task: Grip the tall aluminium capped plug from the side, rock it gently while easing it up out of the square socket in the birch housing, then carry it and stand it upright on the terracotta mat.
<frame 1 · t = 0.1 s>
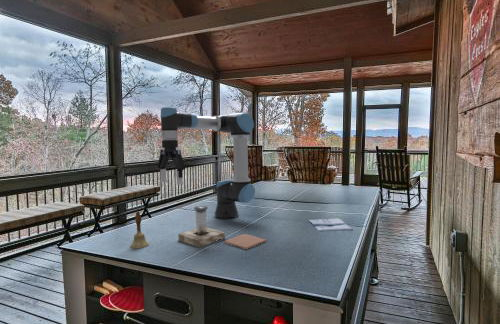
hand: (171, 183, 147), 28 cm above the table, tool pointing down, fingers open, 13 cm apart
birch housing: (201, 239, 148), on the table
terracotta mat: (245, 242, 142), on the table
white folded cloth: (329, 226, 168), on the table
aluminium plug: (201, 223, 148), in the birch housing
hand bell: (139, 245, 141), on the table
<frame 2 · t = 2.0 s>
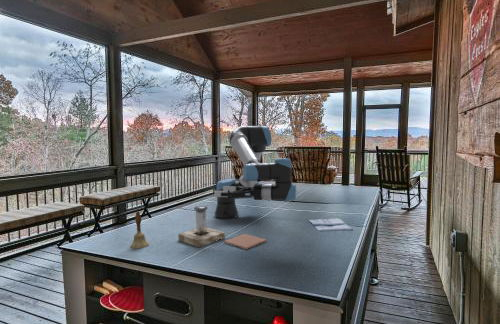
hand: (219, 191, 145), 24 cm above the table, tool horizontal, fingers open, 13 cm apart
nothing on the table moved.
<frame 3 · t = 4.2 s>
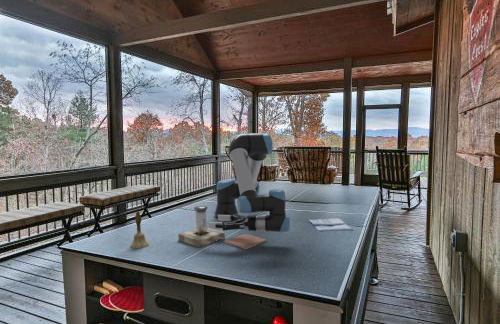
hand: (213, 221, 146), 9 cm above the table, tool horizontal, fingers open, 13 cm apart
nothing on the table moved.
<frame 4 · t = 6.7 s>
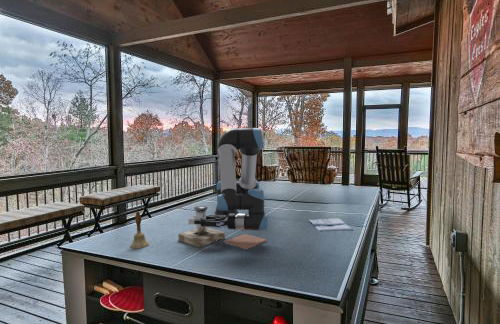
hand: (191, 219, 149), 10 cm above the table, tool horizontal, fingers closed on aluminium plug, 5 cm apart
aluminium plug: (201, 223, 148), in the birch housing, touching gripper
everything else where it was.
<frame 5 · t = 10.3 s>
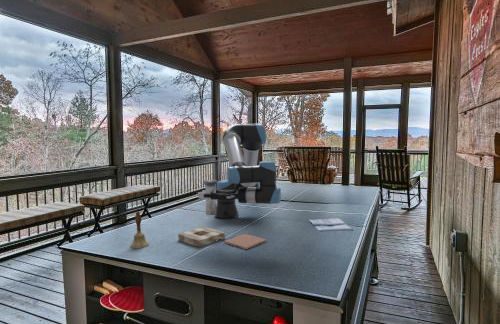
hand: (200, 194, 145), 23 cm above the table, tool horizontal, fingers closed on aluminium plug, 5 cm apart
aluminium plug: (210, 197, 144), point 21 cm above the table, touching gripper
everything else where it was.
when the fingers open (12 cm above the table, at t = 14.1 s): aluminium plug drops 1 cm, resting on terracotta mat.
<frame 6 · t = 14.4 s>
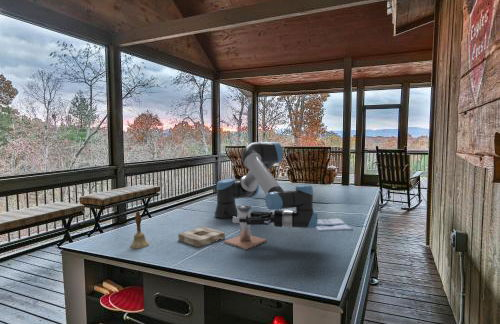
hand: (235, 217, 143), 12 cm above the table, tool horizontal, fingers open, 8 cm apart
aluminium plug: (244, 223, 142), on the terracotta mat, point 9 cm above the table
everything else where it was.
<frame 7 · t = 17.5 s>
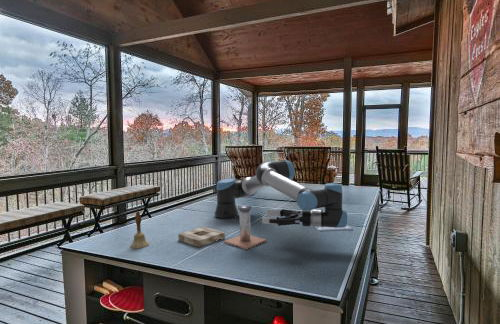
hand: (264, 216, 140), 13 cm above the table, tool horizontal, fingers open, 13 cm apart
nothing on the table moved.
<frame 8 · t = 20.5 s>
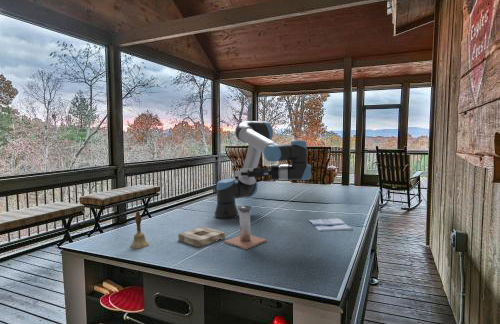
hand: (238, 172, 154), 32 cm above the table, tool horizontal, fingers open, 13 cm apart
nothing on the table moved.
at the end: aluminium plug inside the target area on the terracotta mat (0.0 cm from its centre), point 9.0 cm above the terracotta mat's base; aluminium plug tilted 0°; the gripper is holding nothing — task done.
